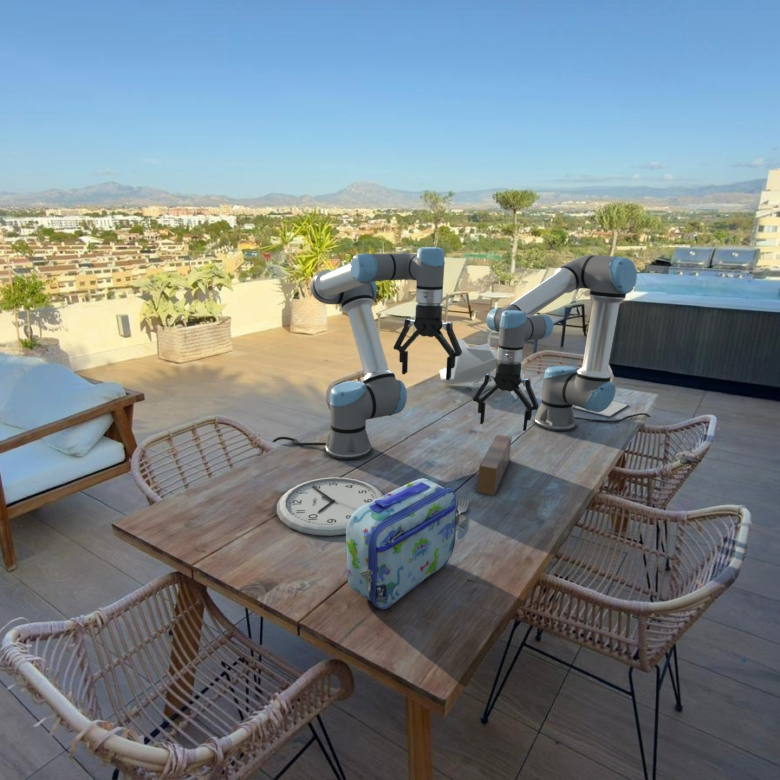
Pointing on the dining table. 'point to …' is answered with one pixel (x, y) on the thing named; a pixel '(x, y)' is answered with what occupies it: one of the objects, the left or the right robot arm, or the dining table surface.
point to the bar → (494, 464)
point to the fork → (461, 509)
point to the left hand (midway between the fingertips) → (426, 376)
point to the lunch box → (400, 540)
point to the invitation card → (608, 409)
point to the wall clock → (324, 504)
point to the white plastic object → (474, 365)
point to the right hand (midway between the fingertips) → (503, 426)
